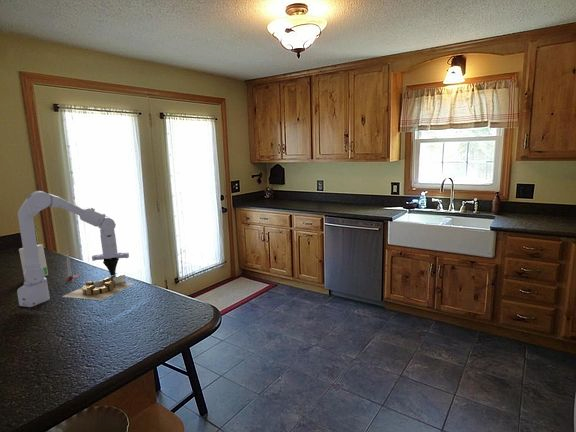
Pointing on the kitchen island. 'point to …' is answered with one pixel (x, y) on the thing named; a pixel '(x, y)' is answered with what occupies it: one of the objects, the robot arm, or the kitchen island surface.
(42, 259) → the skincare box
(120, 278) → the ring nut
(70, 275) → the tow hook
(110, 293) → the spindle board
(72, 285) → the kitchen island surface
